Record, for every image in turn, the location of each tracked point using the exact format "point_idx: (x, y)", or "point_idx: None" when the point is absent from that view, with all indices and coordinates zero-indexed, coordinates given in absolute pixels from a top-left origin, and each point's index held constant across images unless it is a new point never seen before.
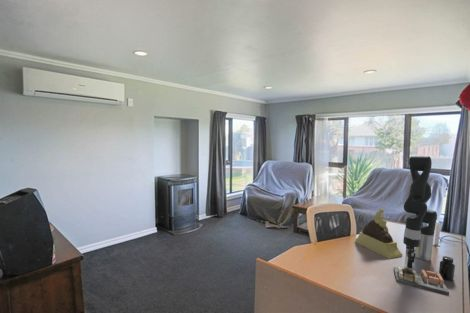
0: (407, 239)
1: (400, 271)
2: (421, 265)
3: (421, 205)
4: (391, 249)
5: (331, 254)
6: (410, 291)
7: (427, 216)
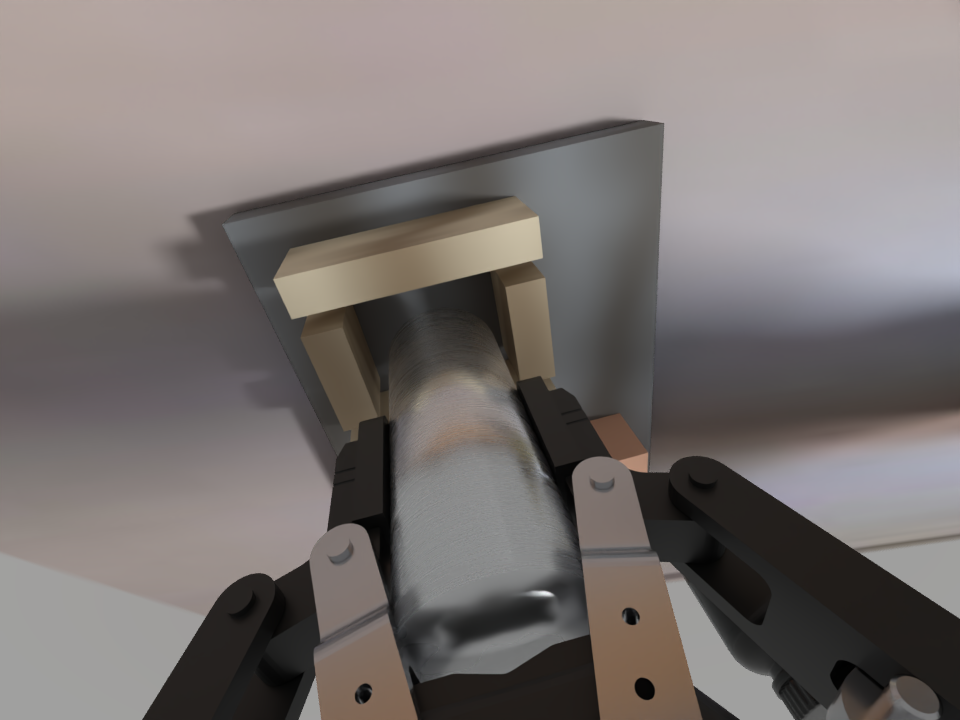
0: None
1: (359, 275)
2: (884, 364)
3: None
4: None
5: None
6: (130, 377)
7: None
